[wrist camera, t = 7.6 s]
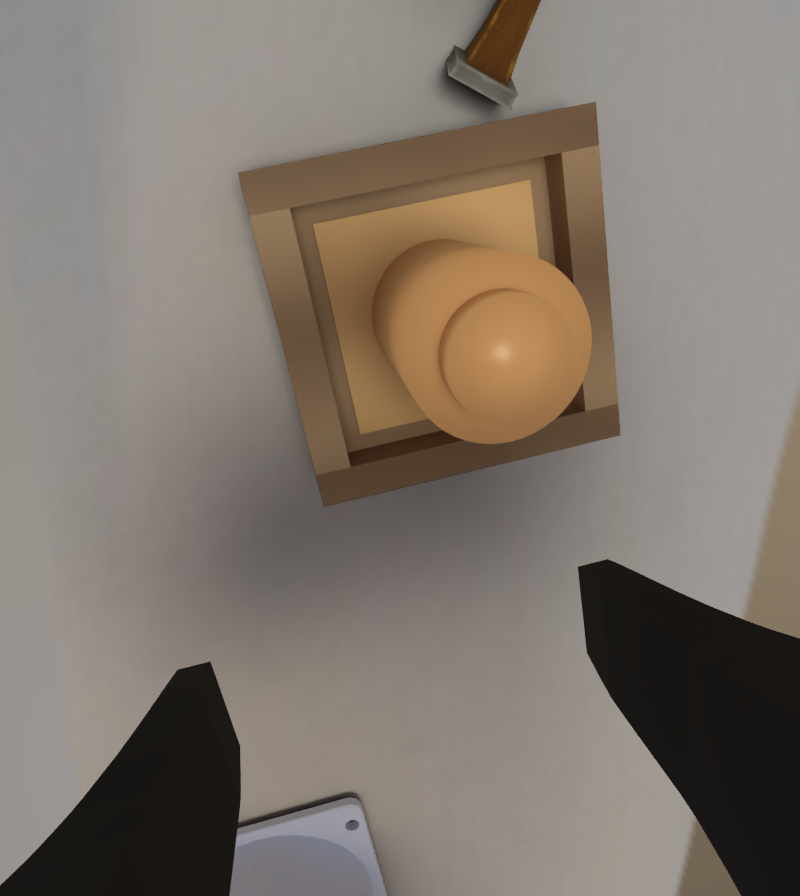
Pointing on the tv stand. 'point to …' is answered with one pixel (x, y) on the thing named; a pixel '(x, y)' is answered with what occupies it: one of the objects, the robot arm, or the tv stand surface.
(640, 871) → the tv stand surface
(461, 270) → the wooden dowel peg
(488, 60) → the wooden post with brackets
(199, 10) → the tv stand surface
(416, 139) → the tray
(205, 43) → the tv stand surface
